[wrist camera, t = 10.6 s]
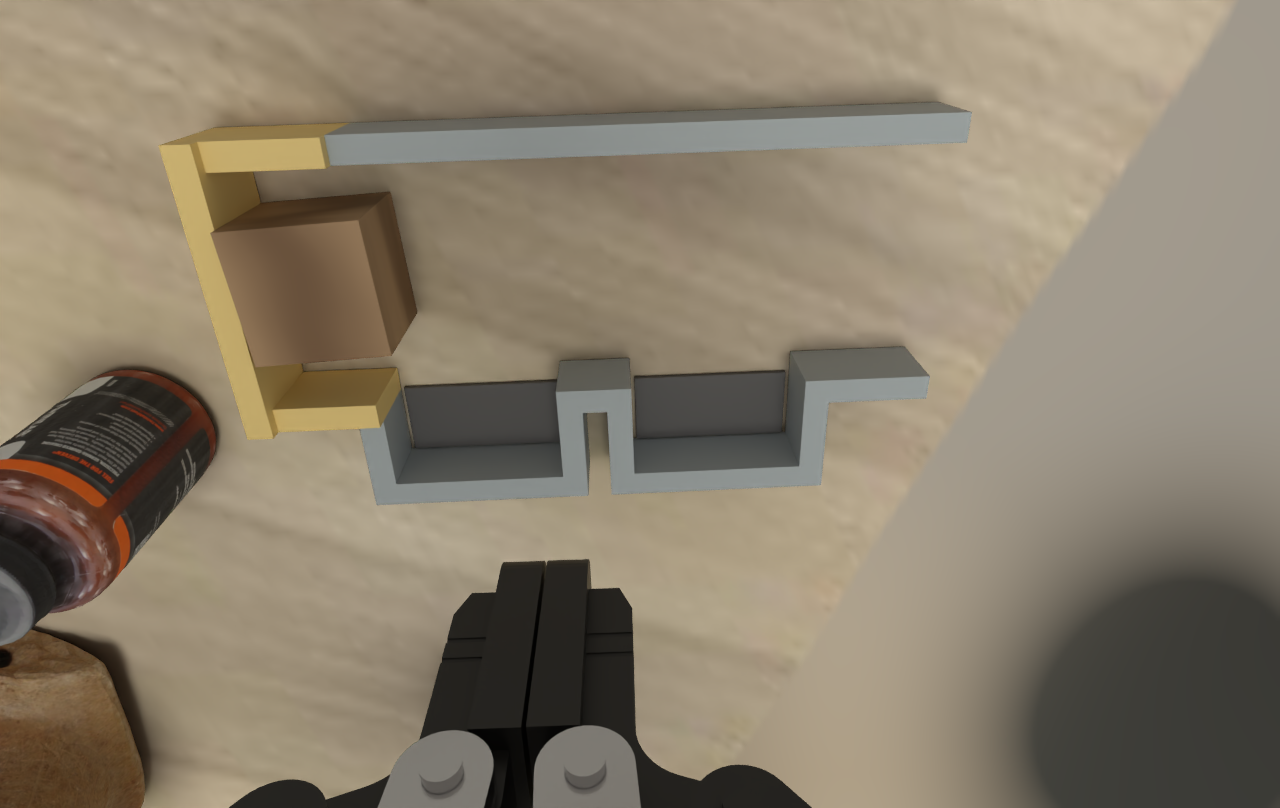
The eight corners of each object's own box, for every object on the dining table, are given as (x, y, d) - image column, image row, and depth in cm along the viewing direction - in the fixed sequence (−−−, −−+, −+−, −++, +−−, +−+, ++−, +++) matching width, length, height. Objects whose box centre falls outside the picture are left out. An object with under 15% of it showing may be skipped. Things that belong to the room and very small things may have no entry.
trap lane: (938, 102, 29) (971, 111, 27) (890, 445, 36) (912, 480, 33) (323, 123, 29) (293, 136, 26) (394, 467, 36) (376, 505, 33)
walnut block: (391, 191, 30) (358, 220, 26) (418, 312, 32) (391, 355, 28) (262, 202, 30) (210, 233, 26) (298, 322, 32) (255, 367, 28)
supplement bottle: (67, 355, 33) (-174, 513, 23) (214, 372, 33) (44, 533, 23) (91, 475, 35) (-114, 663, 25) (228, 488, 36) (80, 677, 26)
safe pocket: (350, 122, 29) (314, 140, 25) (401, 388, 34) (376, 433, 30) (214, 127, 29) (158, 145, 25) (285, 393, 34) (247, 439, 30)
